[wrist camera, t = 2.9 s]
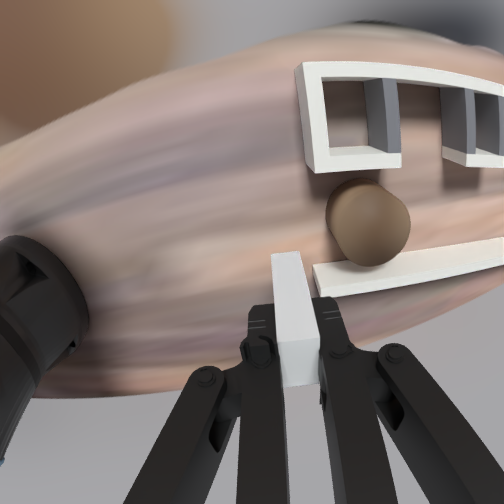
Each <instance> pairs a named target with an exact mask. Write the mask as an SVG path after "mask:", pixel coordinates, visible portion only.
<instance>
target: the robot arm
mask: <svg viewBox="0 0 504 504" xmlns="http://www.w3.org/2000/svg"><path fill="white" fill-rule="evenodd" d="M271 262H272V276H273V290H274V303H273V304H264V305H254V306H253V307H252V308H251V310H250V312H249V314H248V335H247V337H246V338H245V339H244V340H243V341H242V342H241V345H240V351H241V355H242V359H243V361H242V362H241V363H240V364H238V365H237V366H235V367H233V368H230V369H227V370H224V371H221V370H220V369H219V368H217V367H214V366H204V367H201V368H198V369H197V370H195V371H194V372H193V373H192V374H191V376H190V377H189V379H188V381H187V383H186V385H185V387H184V389H183V390H182V392H181V395H180V397H179V398H178V400H177V402H176V404H175V406H174V408H173V410H172V412H171V413H170V415H169V417H168V419H167V421H166V423H165V425H164V427H163V429H162V430H161V432H160V434H159V436H158V438H157V440H156V442H155V444H154V446H153V448H152V450H151V452H150V453H149V455H148V457H147V459H146V461H145V463H144V465H143V467H142V468H141V470H140V472H139V474H138V476H137V478H136V480H135V482H134V484H133V486H132V488H131V489H130V491H129V493H128V495H127V497H126V499H125V501H124V503H123V504H204V503H205V500H206V498H207V495H208V493H209V490H210V488H211V485H212V483H213V480H214V478H215V475H216V473H217V470H218V468H219V465H220V462H221V460H222V457H223V454H224V452H225V449H226V446H227V444H228V441H229V438H230V436H231V433H232V430H233V428H234V425H235V422H236V419H237V417H240V416H241V417H240V436H239V455H238V476H237V496H236V504H290V494H289V473H288V454H287V438H286V420H285V404H284V393H283V388H285V387H294V386H303V385H312V384H319V381H320V404H322V410H323V416H324V422H325V429H326V436H327V443H328V450H329V458H330V465H331V473H332V481H333V489H334V498H335V504H398V501H397V496H396V491H395V486H394V482H393V477H392V473H391V469H390V464H389V460H388V456H387V452H386V448H385V444H384V440H383V436H382V433H381V429H380V425H379V421H378V418H377V415H378V417H379V419H380V420H381V422H382V424H383V425H384V427H385V429H386V430H387V432H388V433H389V435H390V437H391V438H392V440H393V442H394V443H395V445H396V447H397V448H398V450H399V452H400V453H401V455H402V457H403V458H404V460H405V462H406V463H407V465H408V467H409V468H410V470H411V472H412V473H413V475H414V477H415V478H416V480H417V482H418V483H419V485H420V487H421V489H422V491H423V492H424V494H425V496H426V497H427V499H428V501H429V503H430V504H504V471H503V470H502V468H501V467H500V466H499V464H498V463H497V461H496V460H495V458H494V457H493V456H492V454H491V453H490V451H489V450H488V449H487V447H486V446H485V444H484V443H483V442H482V440H481V439H480V438H479V436H478V435H477V434H476V432H475V431H474V430H473V428H472V427H471V426H470V424H469V423H468V422H467V420H466V419H465V418H464V416H463V415H462V414H461V413H460V411H459V410H458V409H457V407H456V406H455V405H454V404H453V402H452V401H451V400H450V399H449V398H448V396H447V395H446V394H445V392H444V391H443V390H442V389H441V387H440V386H439V385H438V384H437V382H436V381H435V380H434V379H433V377H432V376H431V375H430V374H429V373H428V372H427V370H426V369H425V368H424V367H423V365H422V364H421V363H420V362H419V361H418V359H417V358H416V357H415V356H414V355H413V354H412V352H411V351H410V350H409V349H408V348H407V347H405V346H404V345H401V344H398V343H391V344H386V345H385V346H383V347H381V349H380V350H379V352H372V351H363V350H361V349H358V348H356V347H355V346H354V344H352V343H351V342H350V340H349V337H348V334H347V331H346V328H345V325H344V322H343V319H342V317H341V313H340V311H339V307H338V305H337V302H336V301H335V300H334V299H333V298H332V297H330V296H326V297H318V298H311V297H310V293H309V288H308V284H307V280H306V276H305V272H304V268H303V265H302V261H301V257H300V253H299V251H293V252H285V253H276V254H271ZM88 322H89V320H88V311H87V307H86V303H85V300H84V298H83V295H82V293H81V291H80V289H79V287H78V285H77V283H76V282H75V280H74V279H73V277H72V276H71V274H70V273H69V271H68V270H67V269H66V268H65V266H64V265H63V264H62V263H61V262H60V261H59V259H58V258H57V257H56V256H55V255H53V254H52V253H51V252H50V251H49V250H48V249H46V248H45V247H44V246H42V245H41V244H39V243H38V242H36V241H34V240H32V239H30V238H27V237H24V236H18V235H14V236H8V237H6V238H4V239H3V240H1V241H0V466H1V465H2V464H3V462H4V459H5V458H4V455H5V452H6V450H7V448H8V445H9V443H10V441H11V438H12V436H13V434H14V432H15V429H16V427H17V425H18V423H19V421H20V419H21V417H22V415H23V413H24V411H25V409H26V407H27V405H28V403H29V401H30V399H31V397H32V395H33V393H34V391H35V389H36V387H37V385H38V384H39V382H40V380H41V378H42V377H43V376H44V375H45V374H46V373H47V372H49V371H50V370H51V369H52V368H54V367H55V366H56V365H58V364H59V363H60V362H61V361H63V360H64V359H65V358H67V357H68V356H69V355H70V354H72V353H73V352H74V351H75V350H76V349H77V348H78V346H79V345H80V343H81V341H82V339H83V338H84V336H85V334H86V332H87V329H88Z"/></svg>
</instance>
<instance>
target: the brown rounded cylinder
mask: <svg viewBox="0 0 504 504" xmlns="http://www.w3.org/2000/svg"><path fill="white" fill-rule="evenodd" d="M326 221H327V224H328V227H329V229H330V230H331V232H332V234H333V236H334V237H335V239H336V241H337V243H338V244H339V246H340V248H341V250H342V252H343V253H344V255H345V256H346V257H347V258H348V259H349V260H350V261H351V262H353V263H355V264H357V265H360V266H365V267H374V266H379V265H382V264H384V263H386V262H388V261H390V260H392V259H393V258H394V257H395V256H396V255H398V254H399V252H400V251H401V250H402V249H403V247H404V246H405V244H406V242H407V240H408V237H409V233H410V227H411V222H410V216H409V213H408V210H407V208H406V206H405V205H404V204H403V202H402V201H401V200H399V199H398V198H397V197H395V196H394V195H393V194H391V193H390V192H388V191H387V190H386V189H384V188H383V187H381V186H380V185H379V184H377V183H376V182H374V181H372V180H369V179H364V178H356V179H351V180H348V181H346V182H344V183H343V184H341V185H340V186H338V187H337V188H336V189H335V190H334V192H333V193H332V194H331V196H330V198H329V200H328V202H327V206H326Z"/></svg>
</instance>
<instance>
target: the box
mask: <svg viewBox="0 0 504 504" xmlns="http://www.w3.org/2000/svg"><path fill="white" fill-rule="evenodd" d="M294 71H295V78H296V85H297V92H298V100H299V107H300V115H301V124H302V132H303V141H304V151H305V161H306V164H307V165H308V166H309V167H310V168H311V169H312V171H313V172H314V173H326V172H338V171H351V170H366V169H384V168H401V132H400V115H399V102H398V92H397V83H406V84H416V85H425V86H433V87H439V91H440V103H441V121H442V157H443V158H445V159H448V160H451V161H453V162H456V163H458V164H461V165H463V166H465V167H493V168H504V85H501V84H498V83H494V82H491V81H487V80H483V79H479V78H475V77H471V76H467V75H462V74H458V73H453V72H447V71H442V70H436V69H430V68H423V67H416V66H408V65H399V64H388V63H374V62H349V61H323V62H302V63H301V64H300V65H299V66H298V67H297V68H296V69H295V70H294ZM322 81H363V84H364V92H365V102H366V112H367V125H368V139H369V146H353V147H336V148H329V143H328V132H327V122H326V112H325V103H324V95H323V87H322ZM503 264H504V237H499V238H493V239H487V240H481V241H475V242H468V243H462V244H456V245H449V246H443V247H436V248H429V249H423V250H416V251H409V252H402V253H399V254H398V255H396V256H395V257H394V258H393V259H392V260H390V261H388V262H386V263H384V264H382V265H379V266H374V267H365V266H360V265H357V264H355V263H353V262H351V261H350V260H344V261H337V262H329V263H322V264H314V265H313V276H314V279H315V282H316V285H317V288H318V292H319V295H320V297H326V296H330V297H338V296H345V295H352V294H358V293H364V292H371V291H377V290H382V289H388V288H394V287H400V286H405V285H411V284H416V283H421V282H426V281H431V280H436V279H441V278H446V277H451V276H456V275H460V274H465V273H469V272H474V271H478V270H483V269H487V268H491V267H495V266H499V265H503Z"/></svg>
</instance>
